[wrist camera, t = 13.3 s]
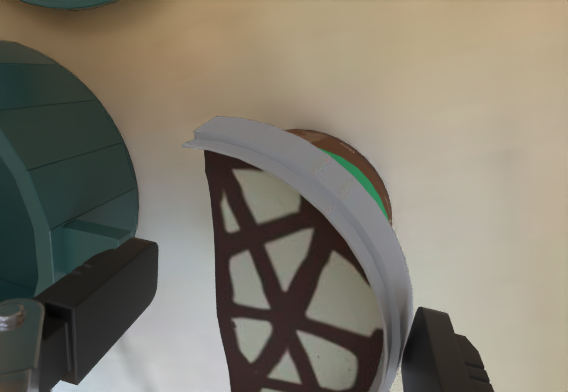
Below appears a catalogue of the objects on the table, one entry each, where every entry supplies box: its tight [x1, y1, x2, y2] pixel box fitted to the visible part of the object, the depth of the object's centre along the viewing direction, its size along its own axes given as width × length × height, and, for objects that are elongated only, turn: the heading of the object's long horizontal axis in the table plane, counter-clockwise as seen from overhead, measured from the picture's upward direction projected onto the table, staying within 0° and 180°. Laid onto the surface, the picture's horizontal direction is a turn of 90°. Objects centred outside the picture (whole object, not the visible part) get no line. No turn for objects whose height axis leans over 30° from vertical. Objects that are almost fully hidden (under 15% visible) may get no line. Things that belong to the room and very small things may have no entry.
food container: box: [182, 116, 413, 392], centre depth 15 cm, size 12×6×10 cm, turn 3°
